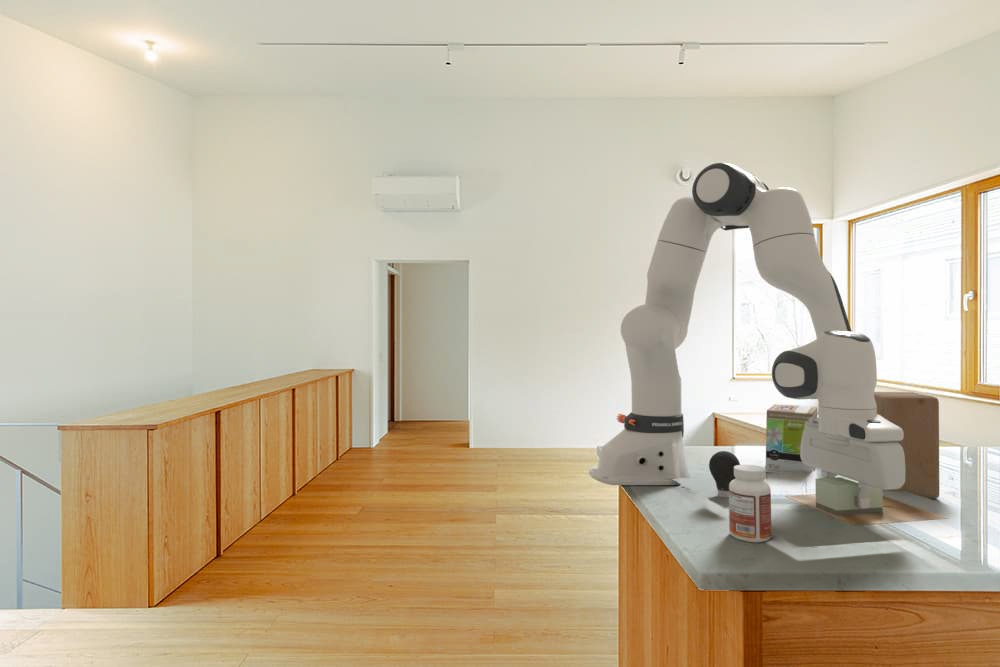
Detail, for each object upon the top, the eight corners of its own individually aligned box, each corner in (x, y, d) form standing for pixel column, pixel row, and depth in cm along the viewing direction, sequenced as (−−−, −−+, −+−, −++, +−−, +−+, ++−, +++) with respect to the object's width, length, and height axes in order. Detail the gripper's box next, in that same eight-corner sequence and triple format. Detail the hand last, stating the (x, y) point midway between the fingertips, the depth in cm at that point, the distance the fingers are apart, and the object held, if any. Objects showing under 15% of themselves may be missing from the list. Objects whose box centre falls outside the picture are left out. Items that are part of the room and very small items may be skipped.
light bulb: (737, 509, 106) (737, 455, 106) (706, 505, 109) (705, 452, 109) (743, 502, 111) (742, 450, 111) (712, 497, 114) (712, 447, 114)
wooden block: (941, 500, 111) (941, 397, 111) (884, 498, 113) (883, 396, 113) (915, 487, 121) (915, 391, 121) (863, 484, 123) (862, 391, 123)
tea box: (813, 478, 128) (813, 412, 128) (764, 473, 134) (764, 409, 134) (818, 465, 141) (817, 405, 141) (773, 460, 146) (772, 402, 146)
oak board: (855, 534, 93) (854, 525, 93) (785, 503, 110) (785, 495, 110) (949, 527, 96) (949, 518, 96) (867, 498, 113) (867, 490, 113)
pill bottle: (760, 530, 95) (760, 463, 95) (778, 543, 89) (778, 472, 89) (723, 530, 95) (722, 463, 95) (738, 543, 89) (738, 472, 89)
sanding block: (836, 515, 98) (836, 485, 98) (815, 506, 103) (815, 478, 103) (882, 511, 99) (882, 482, 99) (859, 503, 104) (859, 475, 104)
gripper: (791, 415, 111) (791, 487, 111) (878, 433, 91) (878, 521, 91) (820, 414, 112) (820, 485, 112) (912, 432, 92) (913, 518, 92)
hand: (847, 501), depth 101 cm, fingers closed on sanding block, 5 cm apart
